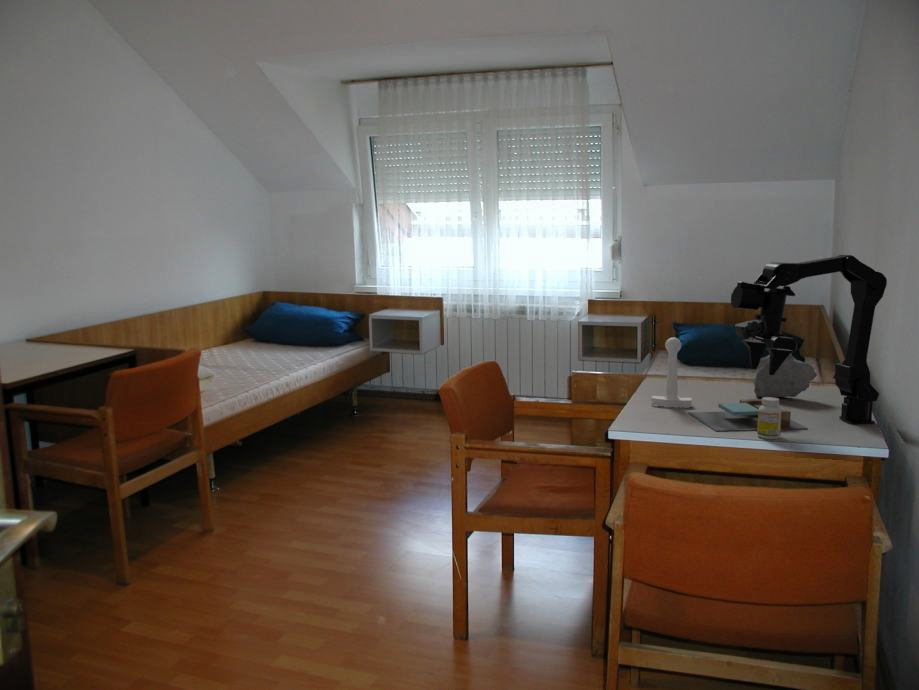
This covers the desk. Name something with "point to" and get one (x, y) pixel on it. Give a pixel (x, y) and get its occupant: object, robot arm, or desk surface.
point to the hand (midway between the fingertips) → (762, 371)
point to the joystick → (672, 379)
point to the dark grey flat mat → (741, 420)
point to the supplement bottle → (769, 418)
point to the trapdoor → (740, 408)
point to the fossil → (783, 378)
